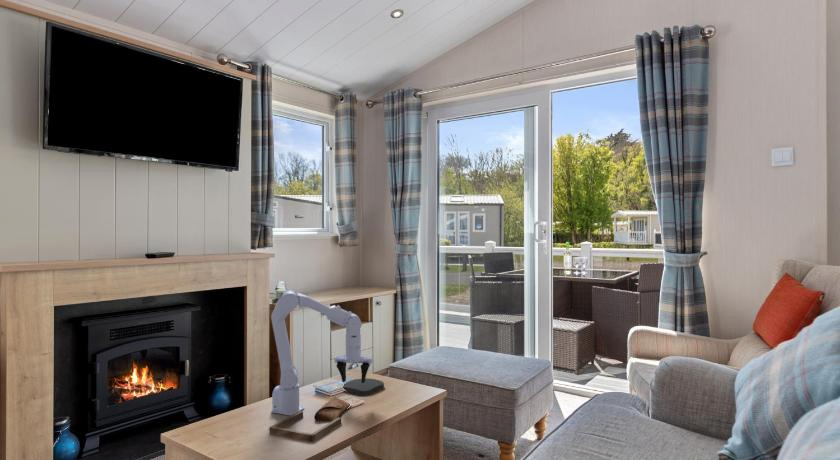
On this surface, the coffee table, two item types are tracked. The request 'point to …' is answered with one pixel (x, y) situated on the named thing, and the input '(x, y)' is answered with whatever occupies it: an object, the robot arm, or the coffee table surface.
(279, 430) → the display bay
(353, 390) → the media streaming box
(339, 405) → the sunglasses case
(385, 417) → the coffee table surface
